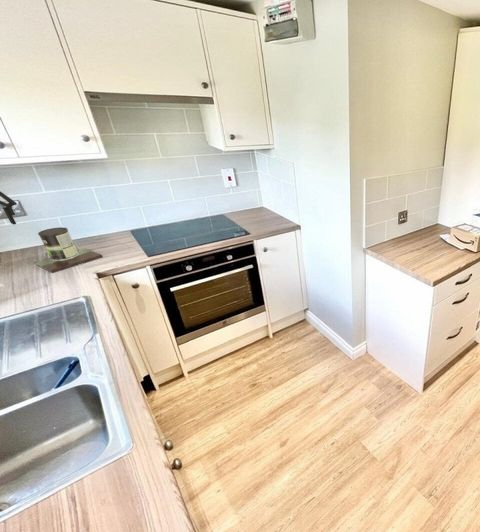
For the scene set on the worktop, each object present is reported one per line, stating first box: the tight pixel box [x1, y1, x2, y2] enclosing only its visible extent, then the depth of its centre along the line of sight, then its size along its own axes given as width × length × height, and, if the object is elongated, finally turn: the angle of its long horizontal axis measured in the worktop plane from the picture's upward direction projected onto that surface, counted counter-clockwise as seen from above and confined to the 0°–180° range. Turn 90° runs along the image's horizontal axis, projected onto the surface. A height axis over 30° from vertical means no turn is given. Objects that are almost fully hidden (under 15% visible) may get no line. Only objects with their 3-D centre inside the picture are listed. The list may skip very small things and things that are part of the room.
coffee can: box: [37, 227, 79, 261], centre depth 160 cm, size 10×10×14 cm
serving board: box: [35, 248, 103, 274], centre depth 162 cm, size 20×16×2 cm
